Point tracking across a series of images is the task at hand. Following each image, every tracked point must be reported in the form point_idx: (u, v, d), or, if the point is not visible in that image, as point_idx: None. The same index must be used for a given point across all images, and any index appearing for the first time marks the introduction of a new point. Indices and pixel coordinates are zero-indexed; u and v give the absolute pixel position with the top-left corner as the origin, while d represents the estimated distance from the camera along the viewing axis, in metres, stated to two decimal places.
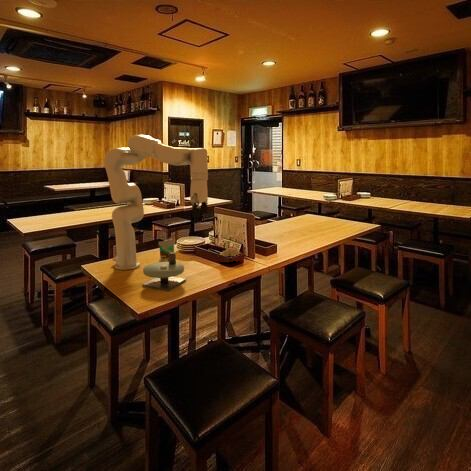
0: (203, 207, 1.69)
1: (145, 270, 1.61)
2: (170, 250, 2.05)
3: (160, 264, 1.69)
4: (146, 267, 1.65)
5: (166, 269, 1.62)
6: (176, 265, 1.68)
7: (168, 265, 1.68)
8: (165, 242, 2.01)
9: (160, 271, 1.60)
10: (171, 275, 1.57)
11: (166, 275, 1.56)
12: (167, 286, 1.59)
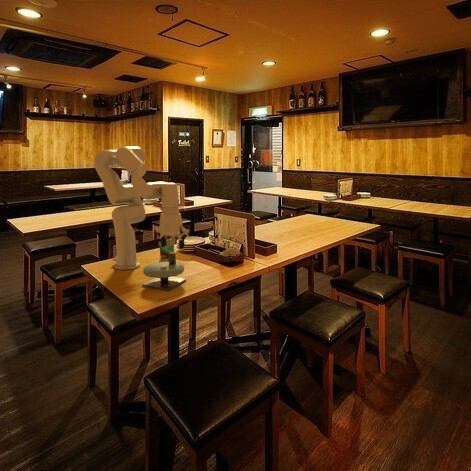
0: (164, 240, 1.70)
1: (145, 270, 1.61)
2: (170, 250, 2.05)
3: (160, 264, 1.69)
4: (146, 267, 1.65)
5: (166, 269, 1.62)
6: (176, 265, 1.68)
7: (168, 265, 1.68)
8: None
9: (160, 271, 1.60)
10: (171, 275, 1.57)
11: (166, 275, 1.56)
12: (167, 286, 1.59)
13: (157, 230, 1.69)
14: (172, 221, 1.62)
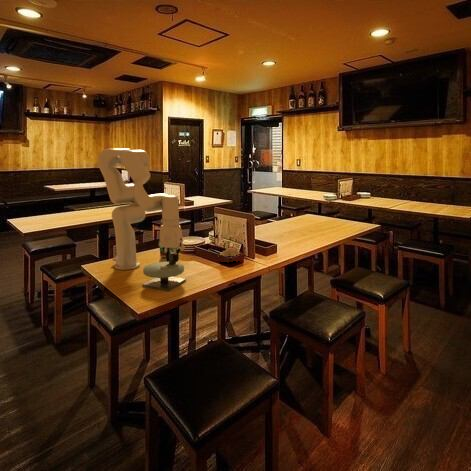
0: None
1: (145, 270, 1.61)
2: (170, 250, 2.05)
3: (160, 264, 1.69)
4: (146, 267, 1.65)
5: (166, 269, 1.62)
6: (176, 265, 1.68)
7: (168, 265, 1.68)
8: None
9: (160, 271, 1.60)
10: (171, 275, 1.57)
11: (166, 275, 1.56)
12: (167, 286, 1.59)
13: (161, 245, 1.70)
14: (172, 233, 1.64)
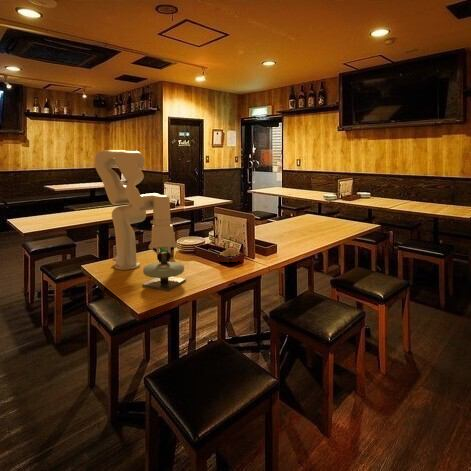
0: None
1: (151, 273, 1.58)
2: None
3: (154, 265, 1.67)
4: (146, 270, 1.61)
5: (169, 268, 1.64)
6: (171, 263, 1.70)
7: (163, 265, 1.68)
8: None
9: (166, 270, 1.61)
10: (180, 272, 1.61)
11: (177, 273, 1.59)
12: (167, 286, 1.59)
13: (151, 247, 1.67)
14: (168, 232, 1.66)
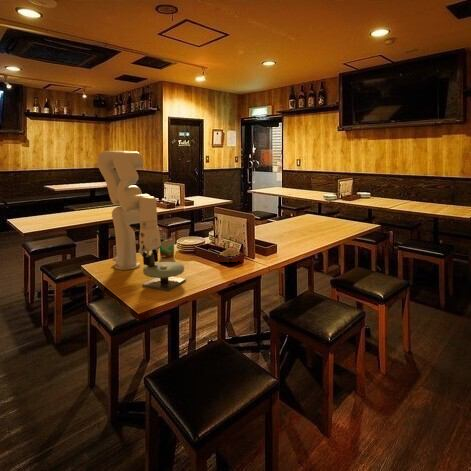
0: None
1: (168, 273, 1.57)
2: (170, 250, 2.05)
3: (151, 269, 1.62)
4: (158, 273, 1.57)
5: (169, 266, 1.66)
6: (158, 264, 1.70)
7: (156, 266, 1.66)
8: (165, 242, 2.01)
9: (173, 268, 1.64)
10: None
11: (183, 267, 1.67)
12: (167, 286, 1.59)
13: (142, 251, 1.60)
14: (157, 233, 1.65)
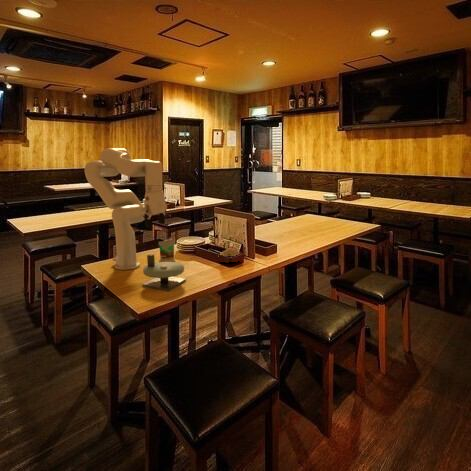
0: None
1: (168, 273, 1.57)
2: (170, 250, 2.05)
3: (151, 269, 1.62)
4: (158, 273, 1.57)
5: (169, 266, 1.66)
6: (158, 264, 1.70)
7: (156, 266, 1.66)
8: (165, 242, 2.01)
9: (173, 268, 1.64)
10: None
11: (183, 267, 1.67)
12: (167, 286, 1.59)
13: (144, 212, 1.62)
14: (162, 198, 1.68)
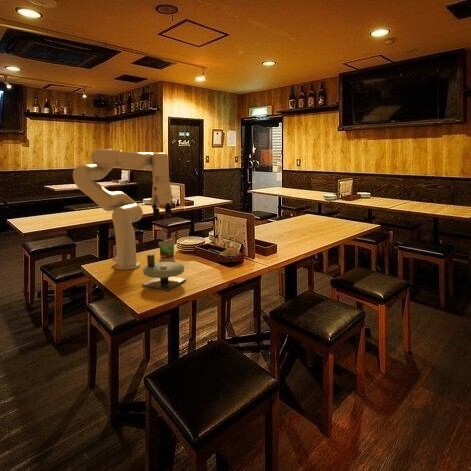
0: None
1: (168, 273, 1.57)
2: (170, 250, 2.05)
3: (151, 269, 1.62)
4: (158, 273, 1.57)
5: (169, 266, 1.66)
6: (158, 264, 1.70)
7: (156, 266, 1.66)
8: (165, 242, 2.01)
9: (173, 268, 1.64)
10: None
11: (183, 267, 1.67)
12: (167, 286, 1.59)
13: (153, 201, 1.68)
14: (169, 188, 1.75)
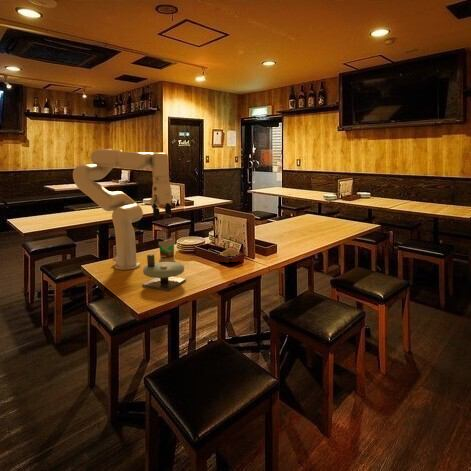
0: None
1: (168, 273, 1.57)
2: (170, 250, 2.05)
3: (151, 269, 1.62)
4: (158, 273, 1.57)
5: (169, 266, 1.66)
6: (158, 264, 1.70)
7: (156, 266, 1.66)
8: (165, 242, 2.01)
9: (173, 268, 1.64)
10: None
11: (183, 267, 1.67)
12: (167, 286, 1.59)
13: (153, 201, 1.68)
14: (169, 188, 1.75)
